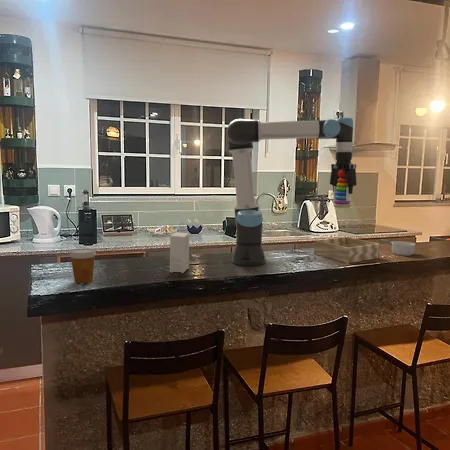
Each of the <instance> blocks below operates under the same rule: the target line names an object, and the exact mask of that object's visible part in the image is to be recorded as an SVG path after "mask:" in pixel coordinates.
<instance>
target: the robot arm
mask: <svg viewBox="0 0 450 450" xmlns="http://www.w3.org/2000/svg"><path fill="white" fill-rule="evenodd" d="M353 135H354V120H353V118H352V117H338V118H337V119H332V118H328V119H326V120H324V119H321V120H291V121H290V120H288V121H285V120H283V121H260V120H259V119H247V118H246V119H244V118H238V119H237V118H236V119H234V120H232V121H230V123H229V124H228V126H227V129H226V138H227V145H228V146H227V147H228V152H229V153H230V154H231V155H232V164H233V175H234V185H235V193H236V194H235V195H236V196H235V197H236V205H235V207H233V208H234V218H235V220H234V224H235V227H236V230H235V231H236V232H235V234H236V235H235V237H236V238H235V240H236V241H235V247H234V250H233V254H232V257H231V262H232V263H233V264H234V265H238V266H243V267H244V266H245V267H246V266H247V267H254V266H255V267H256V266H261V265H264V264H265V263H266V257H265V253H264V249H263V244H262V240H263V239H262V238H263V221H264V217H263V213H262V212H261V211H260V209H259V205H258V204H257V203H256V199H255V190H254V189H255V188H254V187H255V186H254V180H253V178H254V177H253V166H252V156H251V154H252V153H251V152H252V151H253V149H254V143H259V142H260V141H261V140H291V139H294V140H295V139H313V140H330V139H331V140H334V139H335V161H336V162H335V163H332V164H331V165H330V167H331V172H330V178H329V179H330V180H329V185H331V186H332V193H333V201H334V200H335V196H336V191H337V190H336V188H337V187H338V186H337V183H339V182H338V179H339V178H340V177H339V176H338V171H339V170H340V169H342V170H343V172H344V173H345V177H346V180H347V184H348V186H347V187H346V201H350V202H351V201H352V194H353V190H354V187H356V186H357V183H358V182H357V172H356V169H357V164H355V163H354V164H353V163H352V160H353V152H352V151H353V138H354V137H353Z"/></svg>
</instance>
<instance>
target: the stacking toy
mask: <svg viewBox="0 0 450 450" xmlns="http://www.w3.org/2000/svg"><path fill="white" fill-rule="evenodd" d="M338 176H339V177H340V178H339V179H338V182H339V183H337V186H338V187H337V188H336V190H337V191H336V196H335V200H333V207H334V209H335V208H336V209H350V208H351V201H346V187H347V186H348V184H347V180H346V177H345V173H344V172H343V170H342V169H340V170H339V171H338Z"/></svg>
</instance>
